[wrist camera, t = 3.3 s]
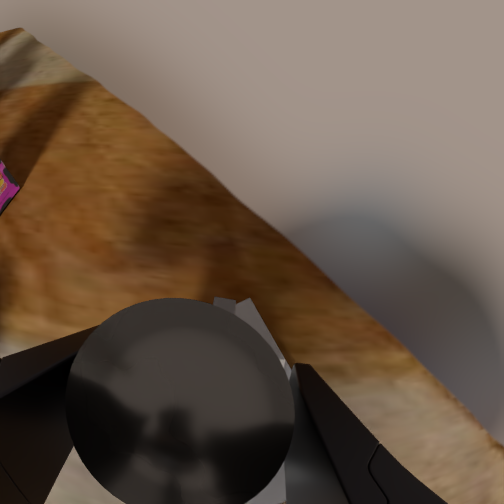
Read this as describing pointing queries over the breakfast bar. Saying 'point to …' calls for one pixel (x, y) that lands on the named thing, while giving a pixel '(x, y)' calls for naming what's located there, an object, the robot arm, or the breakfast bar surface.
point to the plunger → (179, 405)
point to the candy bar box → (6, 186)
